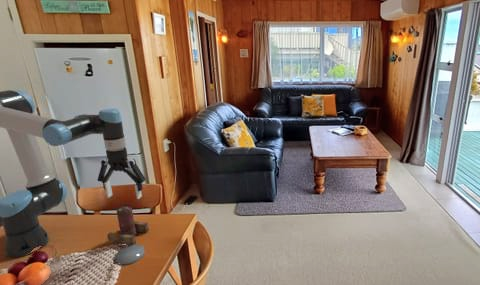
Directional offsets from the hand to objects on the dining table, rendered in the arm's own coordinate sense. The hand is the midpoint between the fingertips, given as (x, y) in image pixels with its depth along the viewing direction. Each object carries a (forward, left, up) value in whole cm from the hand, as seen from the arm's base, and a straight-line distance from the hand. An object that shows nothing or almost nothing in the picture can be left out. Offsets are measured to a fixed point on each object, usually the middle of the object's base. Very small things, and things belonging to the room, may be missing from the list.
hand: (124, 197), depth 121 cm
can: (-1, 0, -19) cm, 19 cm away
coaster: (+7, -11, -19) cm, 23 cm away
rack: (-1, 0, -19) cm, 19 cm away
